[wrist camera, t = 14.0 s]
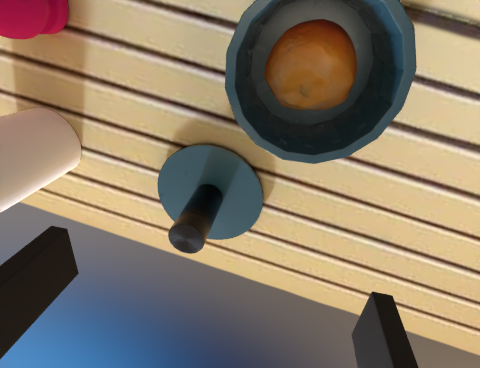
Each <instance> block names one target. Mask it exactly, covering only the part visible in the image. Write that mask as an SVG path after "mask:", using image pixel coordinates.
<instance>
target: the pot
mask: <svg viewBox="0 0 480 368" xmlns="http://www.w3.org/2000/svg"><path fill="white" fill-rule="evenodd" d="M316 19H326V20H329V21H333V22H335V23H337V24H339V25H340V26H341V27H342V28H343V29H344V30H345V31H346V32H347V33H348V35H349V36H350V38H351V40H352V42H353V45H354V48H355V51H356V58H357V73H356V78H355V82H354V85H353V86H352V88H351V90H350V92H349V95H348V97H347V98H346V100H345V101H344V102H342V103H341V104H339V105H336V106H334V107H332V108H330V109H326V110H317V111H314V110H294V109H291V108H288V107H284V106H282V105H281V104H280V103H279V102H278V100H277V99H276V98H275V96H274V94H273V93H272V92H271V89H270V87H269V85H268V84H267V81H266V79H265V76H264V73H265V65H266V61H267V59H268V57H269V55H270V53H271V50H272V48H273V46H274V45H275V43H276V42H277V41H278V40H279V39H280V37H281V36H282V35H283V34H284V33H285V32H286V31H287V30H288V29H290V28H292V27H293V26H295V25H297V24H299V23H302V22H305V21H310V20H316ZM415 72H416V49H415V31H414V25H413V24H412V22H411V20H410V18H409V16H408V15H407V13H406V11H405V9H404V7H403V6H402V4H401V2H400V0H255V1H254V3H253V4H252V5H251V6H250V7H249V8H248V9H247V10H246V11H245V12H244V13H243V15H242V17H241V19H240V21H239V24H238V26H237V28H236V31H235V33H234V35H233V38H232V40H231V42H230V45H229V47H228V49H227V54H226V77H225V90H226V93H227V96H228V99H229V102H230V105H231V108H232V111H233V114H234V117H235V120H236V121H237V123H238V124H239V125H240V126H241V127H242V129H243V130H244V131H245V132H246V133H247V135H248V136H249V137H250V138H251V139H252V141H253V142H254V143H255V144H256V145H257V146H259V147H261V148H263V149H265V150H267V151H268V152H270V153H272V154H274V155H276V156H277V157H279V158H281V159H283V160H290V161H297V162H304V163H312V164H316V163H321V162H325V161H330V160H335V159H339V158H344V157H347V156H349V155H351V154H353V153H354V152H356V151H357V150H359V149H361V148H362V147H364V146H366V145H367V144H369V143H371V142H372V141H374V140H375V139H377V138H378V137H379V136H380V135H381V134H382V132H383V131H384V130H385V129H386V127H387V126H388V125H389V124H390V123H391V121H392V120H393V119H394V118H395V117H396V115H397V114H398V113H399V112H400V111H401V109H402V107H403V106H404V103H405V100H406V97H407V95H408V92H409V89H410V86H411V83H412V80H413V78H414V75H415Z"/></svg>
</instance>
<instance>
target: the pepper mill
mask: <svg viewBox="0 0 480 368" xmlns="http://www.w3.org/2000/svg"><path fill="white" fill-rule="evenodd" d="M68 11H69V10H68V3H67V0H0V36H3V37H7V38H13V39H29V38H33V37H35V36H36V35H38V34H54V33H57V32H59V31H61V30H62V29H63V28H64V26H65V25H66V23H67V19H68Z"/></svg>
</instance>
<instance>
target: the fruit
mask: <svg viewBox="0 0 480 368" xmlns="http://www.w3.org/2000/svg"><path fill="white" fill-rule="evenodd" d="M356 73H357V58H356V51H355V48H354V45H353V42H352V40H351V38H350V36H349V35H348V33H347V32H346V31H345V30H344V29H343V28H342V27H341V26H340V25H339V24H337V23H335V22H333V21H329V20H326V19H316V20H310V21H305V22H302V23H299V24H297V25H295V26H293V27H292V28H290V29H288V30H287V31H286V32H285V33H284V34H283V35H282V36H281V37H280V39H279V40H278V41H277V42H276V43H275V45H274V46H273V48H272V50H271V53H270V55H269V57H268V59H267V61H266V65H265V73H264V76H265V79H266V81H267V84H268V85H269V87H270V89H271V92H272V93H273V94H274V96H275V98H276V99H277V100H278V102H279V103H280V104H281V105H282V106H284V107H288V108H291V109H294V110H314V111H317V110H326V109H330V108H332V107H334V106H336V105H339V104H341V103H342V102H344V101H345V100H346V98H347V97H348V95H349V92H350V90H351V88H352V86H353V85H354V82H355V78H356Z"/></svg>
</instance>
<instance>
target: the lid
mask: <svg viewBox="0 0 480 368" xmlns="http://www.w3.org/2000/svg"><path fill="white" fill-rule="evenodd" d="M158 193H159V197H160V201H161V203H162V205H163V207H164V209H165V211H166V212H167V214H168V215H169V216H170V217H171V219H172V220H173V221H174V224H173V226H172V227H171V229H170V230H169V235H168V236H169V240H170V242H171V244H172V245H173V246H174V247H175V248H176V249H177V250H179V251H181V252H184V253H196V252H198V251H200V250H201V249H202V248H203V246H204V243H205V241H206V239H216V240H221V239H229V238H233V237H236V236H239V235H241V234H243V233H244V232H246V231H247V230H249V229H250V228H251V227H252V226H253V225H254V224H255V222H256V221H257V219H258V217H259V215H260V213H261V209H262V205H263V192H262V187H261V184H260V181H259V179H258V177H257V175H256V173H255V172H254V170H253V169H252V168H251V167H250V165H249V164H248V163H247V162H246V161H245V160H243V159H242V158H241V157H240V156H238V155H236V154H235V153H233V152H231V151H229V150H227V149H225V148H222V147H219V146H214V145H205V144H202V145H193V146H188V147H185V148H183V149H181V150H179V151H177V152H176V153H174V154H173V155H172V156H171V157H170V158H169V159H168V160H167V161H166V162H165V163H164V165H163V167H162V169H161V171H160V174H159V177H158Z"/></svg>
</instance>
